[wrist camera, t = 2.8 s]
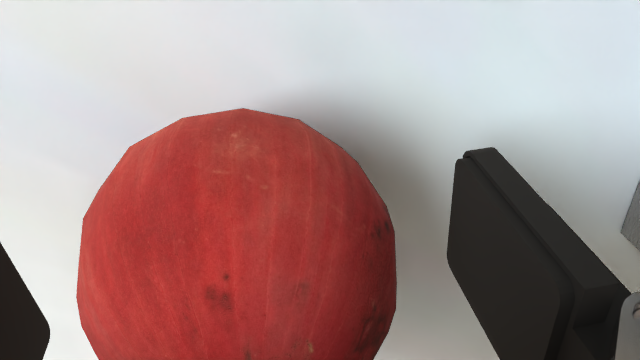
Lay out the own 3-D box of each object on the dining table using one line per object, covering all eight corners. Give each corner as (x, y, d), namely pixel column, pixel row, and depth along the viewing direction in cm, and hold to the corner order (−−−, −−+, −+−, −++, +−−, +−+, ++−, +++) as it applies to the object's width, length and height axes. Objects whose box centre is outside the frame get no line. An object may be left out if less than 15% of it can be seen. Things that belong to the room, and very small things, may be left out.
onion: (383, 86, 12) (578, 375, 5) (311, 258, 15) (382, 583, 8) (133, 20, 10) (-25, 334, 4) (105, 231, 13) (-11, 619, 6)
